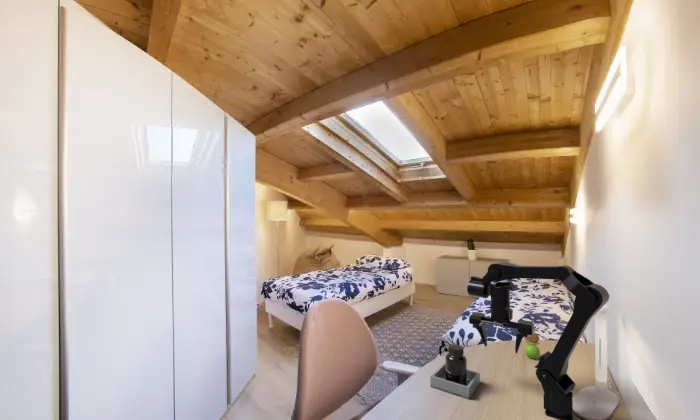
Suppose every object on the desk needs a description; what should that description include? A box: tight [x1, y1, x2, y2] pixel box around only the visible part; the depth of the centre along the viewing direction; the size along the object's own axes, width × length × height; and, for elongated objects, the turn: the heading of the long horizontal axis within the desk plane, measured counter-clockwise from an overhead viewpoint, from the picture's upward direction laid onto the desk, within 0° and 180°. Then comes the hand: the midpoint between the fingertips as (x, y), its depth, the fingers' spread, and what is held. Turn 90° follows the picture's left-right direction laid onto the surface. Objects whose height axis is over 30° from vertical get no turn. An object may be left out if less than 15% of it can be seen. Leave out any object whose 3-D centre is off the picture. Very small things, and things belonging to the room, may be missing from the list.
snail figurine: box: [523, 332, 541, 360], centre depth 128 cm, size 5×6×12 cm
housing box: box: [430, 362, 481, 400], centre depth 106 cm, size 12×12×4 cm
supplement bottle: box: [444, 344, 468, 386], centre depth 107 cm, size 7×7×12 cm
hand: (500, 349), depth 104 cm, fingers open, 9 cm apart
